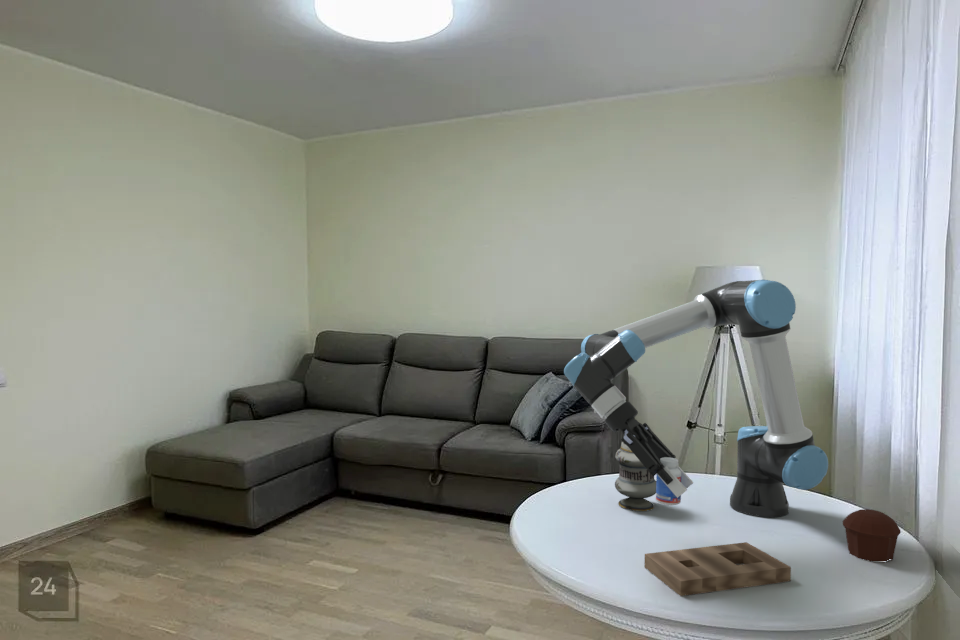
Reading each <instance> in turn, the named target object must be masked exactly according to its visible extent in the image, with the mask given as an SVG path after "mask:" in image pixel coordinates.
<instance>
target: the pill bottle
mask: <svg viewBox="0 0 960 640" xmlns="http://www.w3.org/2000/svg"><path fill="white" fill-rule="evenodd" d="M660 461H661V463H662V464H663V465H664V468H665V467H666V466H667V467H668V468H669V470H670V471H671V472H672V473H673V474H674V475H675V476H676V478H677V479H678V480H679V481H680V482H681V471H680V470H679V469H677V467H678V466H679V465H680V464H679V459H678V458H670V457H664V458H660ZM664 468H663V469H664ZM655 476H656V479H655V480H656V494H655V501H656V502H657V503H659V504H660V505H661V504H662V505H666V506H677V505H680V503H681V502H682V501H681V499H682V495H680V496H679V497H678V498H677V497H676V496H675V495H674V493H673V492H672V491H671V490H670V489H669V488H668V487H667V485H666V484H665V483H664V482H663V481H662V480H661V478H660V477H659V476H658V475H657V474H656V475H655Z"/></svg>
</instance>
